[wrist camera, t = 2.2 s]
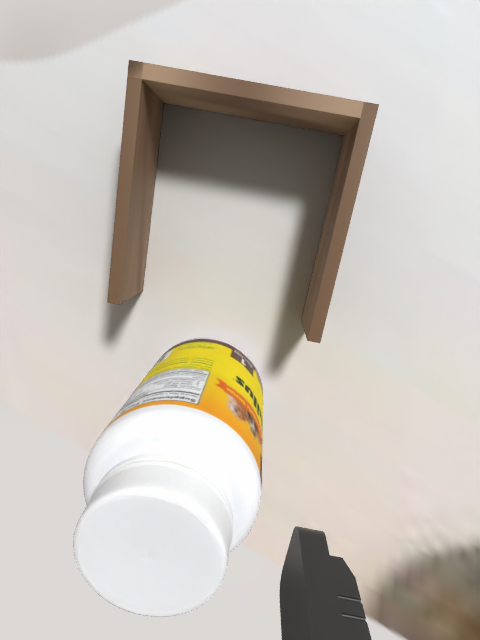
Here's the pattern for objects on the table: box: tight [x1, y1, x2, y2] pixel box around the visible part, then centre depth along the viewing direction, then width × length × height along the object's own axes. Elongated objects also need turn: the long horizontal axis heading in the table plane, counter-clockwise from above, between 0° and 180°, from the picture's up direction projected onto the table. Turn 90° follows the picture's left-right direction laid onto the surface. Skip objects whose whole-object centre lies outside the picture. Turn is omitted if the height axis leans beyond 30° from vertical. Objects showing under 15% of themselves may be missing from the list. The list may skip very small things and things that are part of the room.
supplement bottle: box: [73, 338, 263, 617], centre depth 15 cm, size 6×6×10 cm
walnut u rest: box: [108, 60, 379, 343], centre depth 16 cm, size 9×9×3 cm
